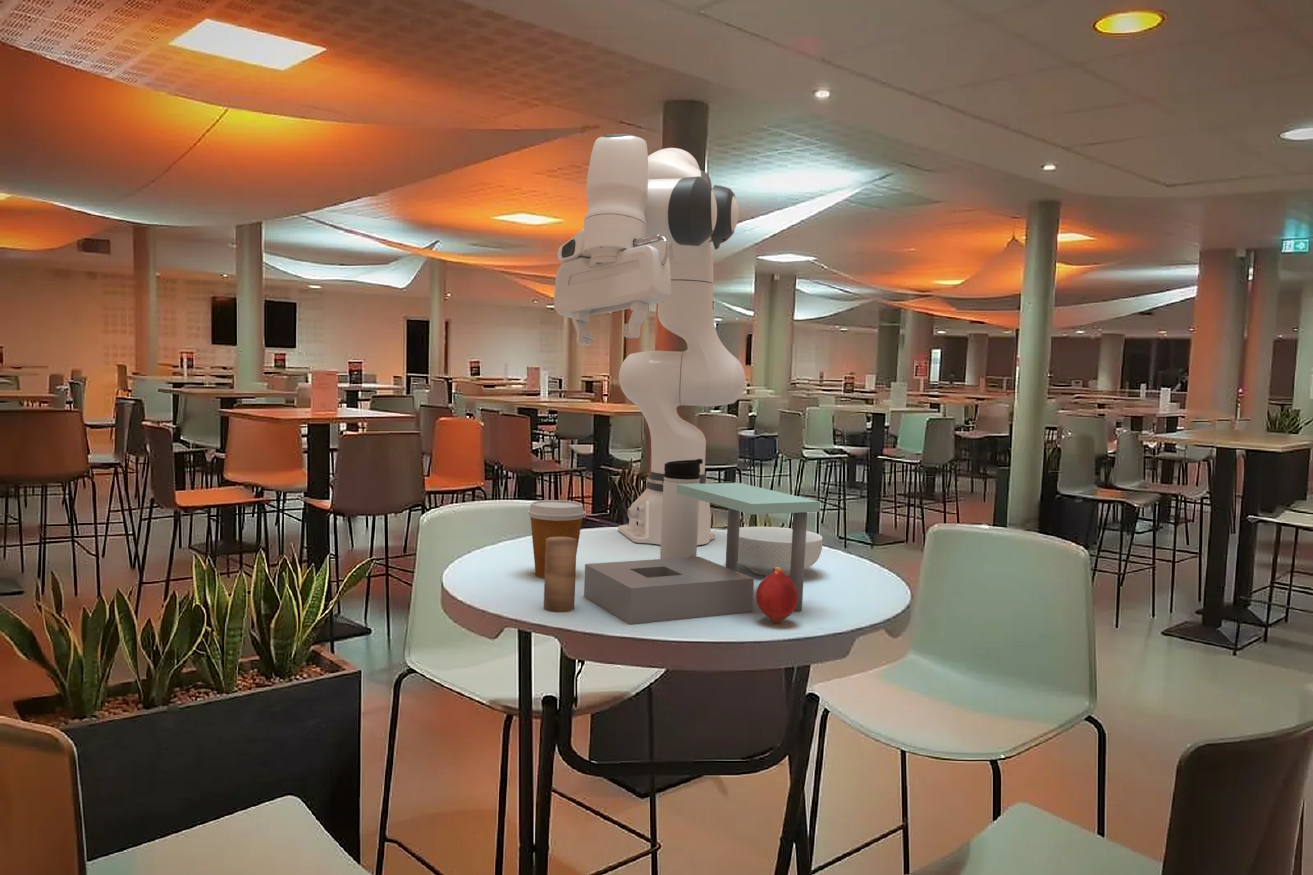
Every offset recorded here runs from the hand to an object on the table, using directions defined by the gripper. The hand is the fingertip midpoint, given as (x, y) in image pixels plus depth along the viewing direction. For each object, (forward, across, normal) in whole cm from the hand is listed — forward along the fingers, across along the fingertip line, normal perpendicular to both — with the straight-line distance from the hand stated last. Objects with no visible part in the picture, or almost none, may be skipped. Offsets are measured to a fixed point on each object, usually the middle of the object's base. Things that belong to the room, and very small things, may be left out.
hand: (607, 341), depth 126 cm
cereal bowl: (+32, +4, -48) cm, 58 cm away
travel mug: (+33, +14, -34) cm, 49 cm away
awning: (+35, -3, -29) cm, 46 cm away
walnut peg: (+38, +9, -3) cm, 39 cm away
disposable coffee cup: (+34, +26, -16) cm, 46 cm away
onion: (+38, -15, -22) cm, 46 cm away
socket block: (+37, +1, -17) cm, 40 cm away
